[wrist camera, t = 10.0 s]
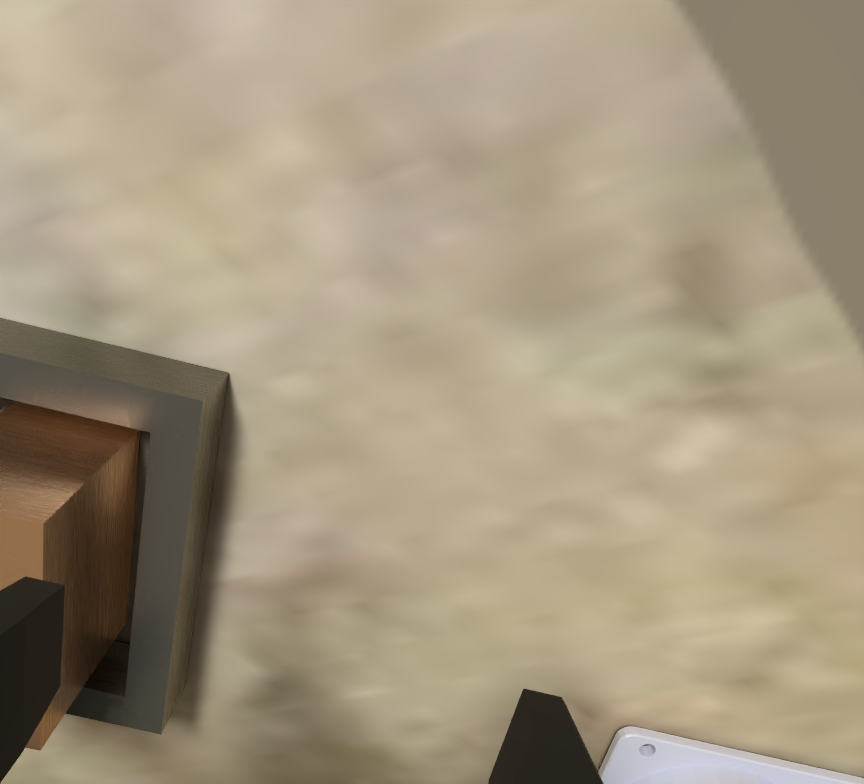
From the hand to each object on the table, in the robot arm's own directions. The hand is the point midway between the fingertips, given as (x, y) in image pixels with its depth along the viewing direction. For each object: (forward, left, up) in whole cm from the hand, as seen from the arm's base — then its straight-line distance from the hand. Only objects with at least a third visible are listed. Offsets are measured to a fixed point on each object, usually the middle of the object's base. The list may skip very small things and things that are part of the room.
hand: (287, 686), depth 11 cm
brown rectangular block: (+8, +5, -10) cm, 13 cm away
